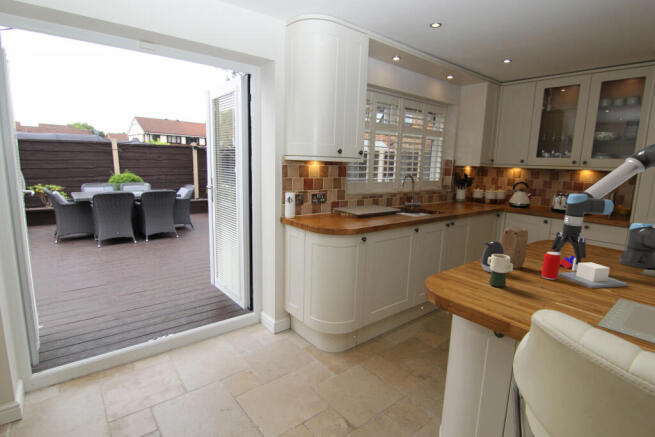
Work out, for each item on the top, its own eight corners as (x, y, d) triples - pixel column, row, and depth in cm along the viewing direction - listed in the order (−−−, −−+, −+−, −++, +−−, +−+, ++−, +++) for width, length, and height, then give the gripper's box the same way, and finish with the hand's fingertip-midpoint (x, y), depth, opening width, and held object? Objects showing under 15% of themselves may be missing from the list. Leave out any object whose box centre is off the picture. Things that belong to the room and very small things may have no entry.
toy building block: (564, 271, 167) (574, 259, 163) (557, 265, 170) (567, 254, 166) (568, 270, 169) (578, 259, 165) (560, 264, 172) (570, 253, 168)
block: (525, 268, 163) (531, 229, 160) (514, 270, 160) (520, 230, 157) (505, 262, 173) (510, 225, 170) (495, 263, 170) (500, 226, 167)
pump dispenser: (475, 267, 162) (479, 237, 159) (495, 268, 163) (499, 238, 160) (487, 274, 152) (491, 243, 149) (508, 275, 153) (512, 243, 150)
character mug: (514, 288, 136) (518, 258, 134) (504, 291, 132) (508, 260, 130) (490, 280, 145) (494, 251, 143) (480, 282, 142) (483, 253, 139)
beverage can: (555, 277, 152) (559, 252, 150) (558, 281, 147) (562, 255, 145) (540, 275, 155) (544, 250, 153) (542, 279, 149) (546, 253, 147)
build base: (590, 273, 160) (593, 259, 159) (626, 285, 144) (630, 270, 143) (557, 275, 155) (559, 260, 154) (590, 288, 140) (593, 272, 139)
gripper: (547, 220, 174) (540, 260, 178) (588, 229, 153) (580, 274, 157) (558, 220, 176) (552, 260, 180) (601, 229, 155) (592, 274, 159)
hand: (565, 267), depth 168 cm, fingers open, 10 cm apart
